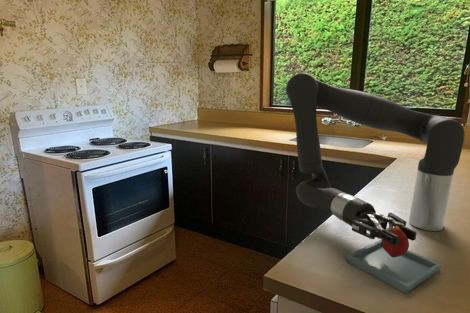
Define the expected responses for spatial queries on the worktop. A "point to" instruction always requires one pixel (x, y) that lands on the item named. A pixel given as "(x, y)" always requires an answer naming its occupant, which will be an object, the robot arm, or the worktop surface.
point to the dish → (394, 266)
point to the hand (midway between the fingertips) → (406, 239)
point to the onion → (402, 244)
